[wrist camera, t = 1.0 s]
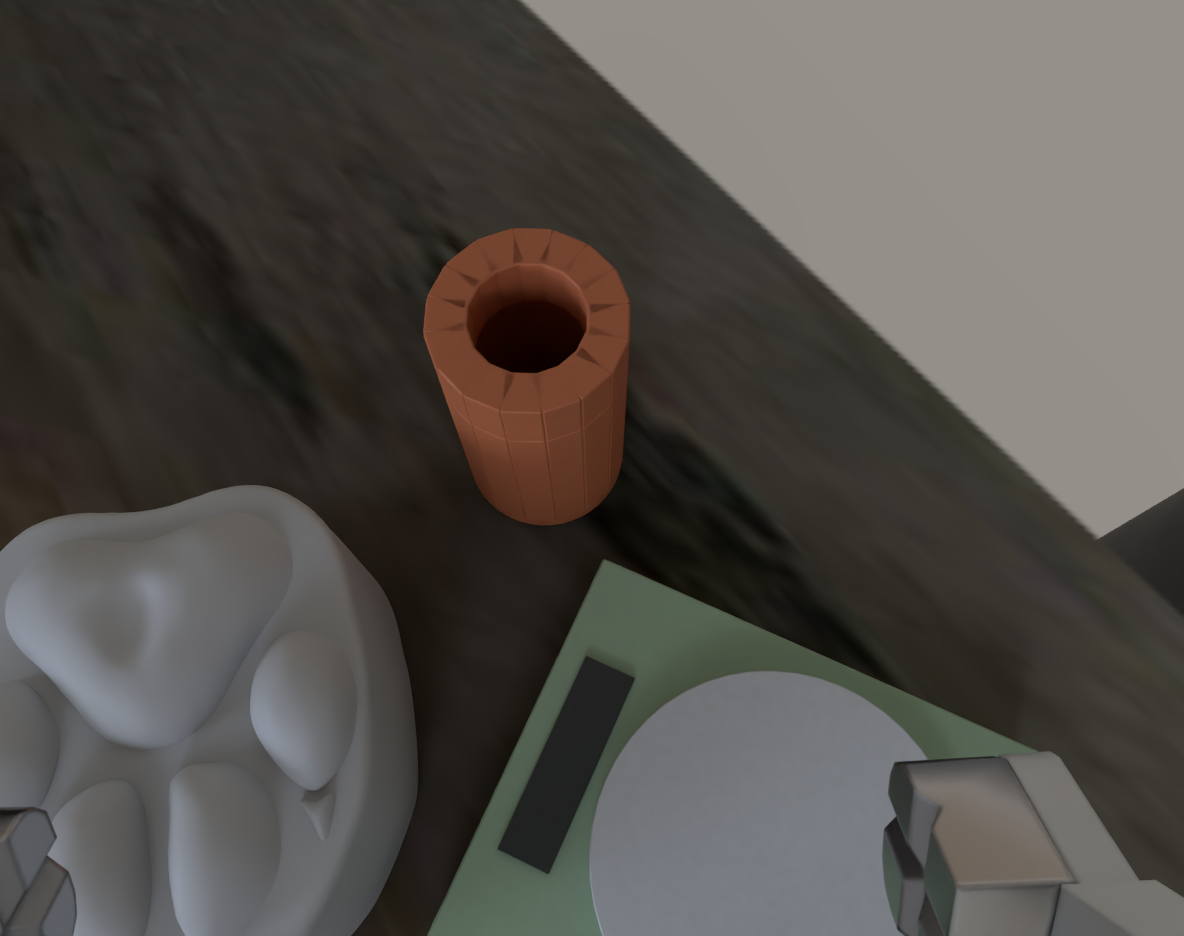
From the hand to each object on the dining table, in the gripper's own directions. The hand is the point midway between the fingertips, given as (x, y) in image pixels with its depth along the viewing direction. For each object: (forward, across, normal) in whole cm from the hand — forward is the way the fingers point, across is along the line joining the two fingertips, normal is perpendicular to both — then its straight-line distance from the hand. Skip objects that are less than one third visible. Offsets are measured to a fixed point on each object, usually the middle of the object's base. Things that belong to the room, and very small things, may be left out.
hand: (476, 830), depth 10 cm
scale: (+16, -5, +17) cm, 24 cm away
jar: (+25, 0, +8) cm, 26 cm away
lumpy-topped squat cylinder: (+18, +9, +15) cm, 25 cm away
